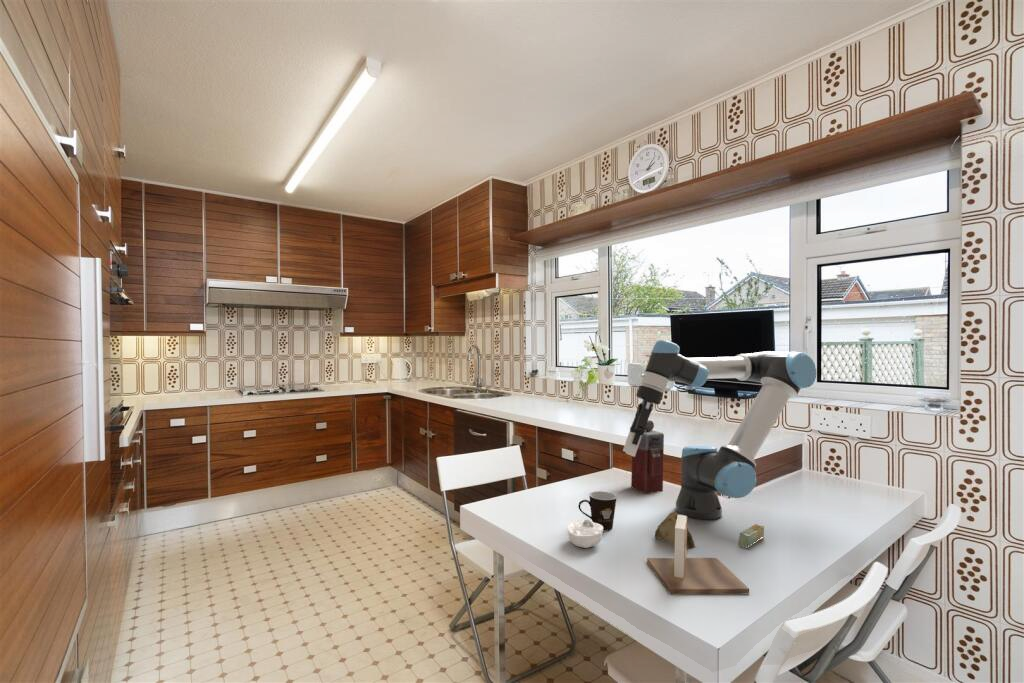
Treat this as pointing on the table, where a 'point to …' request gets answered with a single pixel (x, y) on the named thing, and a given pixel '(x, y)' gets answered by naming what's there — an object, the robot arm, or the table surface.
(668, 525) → the rock
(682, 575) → the tile
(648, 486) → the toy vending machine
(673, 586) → the board
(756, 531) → the medication box
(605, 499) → the coffee mug
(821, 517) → the table surface
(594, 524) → the cell model
